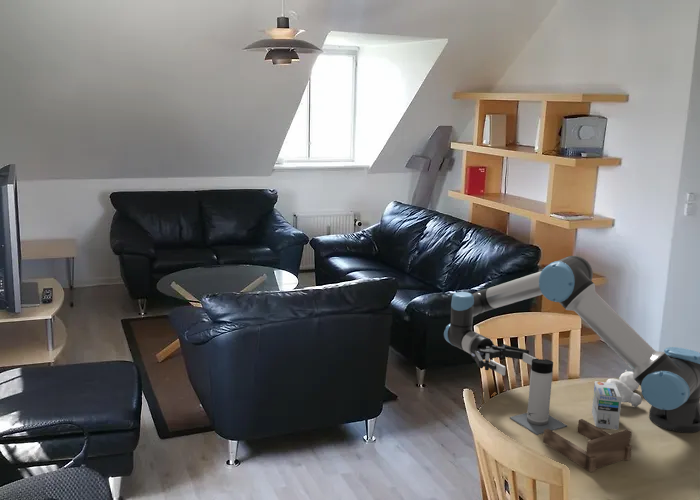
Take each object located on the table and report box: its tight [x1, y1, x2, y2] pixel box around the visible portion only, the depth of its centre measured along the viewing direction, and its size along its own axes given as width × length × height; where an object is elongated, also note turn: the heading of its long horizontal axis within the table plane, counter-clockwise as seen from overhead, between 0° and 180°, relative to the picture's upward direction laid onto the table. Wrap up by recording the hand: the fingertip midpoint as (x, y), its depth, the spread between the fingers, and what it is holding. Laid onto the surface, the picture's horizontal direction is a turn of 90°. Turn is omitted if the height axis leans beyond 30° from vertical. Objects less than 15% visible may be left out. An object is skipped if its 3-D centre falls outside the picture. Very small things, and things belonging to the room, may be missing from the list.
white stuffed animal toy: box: [605, 378, 643, 409], centre depth 225 cm, size 6×8×12 cm
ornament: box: [618, 369, 640, 392], centre depth 236 cm, size 6×7×7 cm
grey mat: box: [509, 412, 568, 436], centre depth 213 cm, size 12×12×1 cm
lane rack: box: [542, 418, 633, 473], centre depth 195 cm, size 18×15×8 cm
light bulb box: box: [591, 380, 622, 431], centre depth 213 cm, size 11×7×11 cm, turn 169°
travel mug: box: [526, 358, 554, 426], centre depth 210 cm, size 6×7×20 cm
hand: (521, 367), depth 218 cm, fingers open, 13 cm apart
